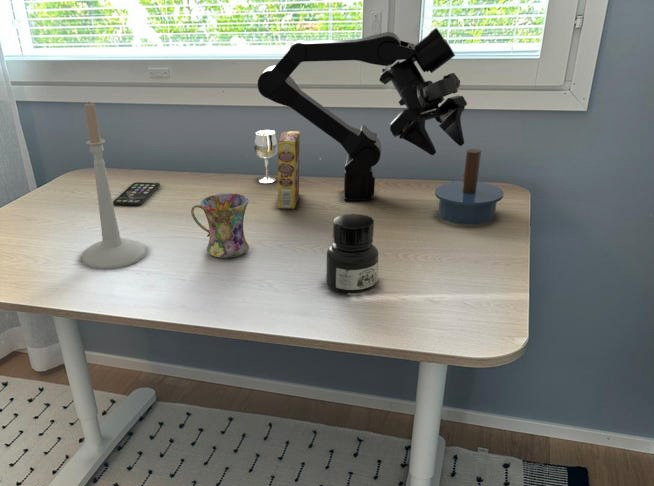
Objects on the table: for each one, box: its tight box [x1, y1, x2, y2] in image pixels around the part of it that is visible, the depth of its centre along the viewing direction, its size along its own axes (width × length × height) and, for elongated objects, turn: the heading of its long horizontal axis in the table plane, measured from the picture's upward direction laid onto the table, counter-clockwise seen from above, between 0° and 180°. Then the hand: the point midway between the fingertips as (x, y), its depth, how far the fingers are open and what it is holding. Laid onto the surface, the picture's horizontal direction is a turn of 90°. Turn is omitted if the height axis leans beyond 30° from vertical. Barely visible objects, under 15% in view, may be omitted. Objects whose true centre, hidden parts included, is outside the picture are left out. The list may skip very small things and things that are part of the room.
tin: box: [437, 199, 498, 226], centre depth 145 cm, size 11×12×5 cm
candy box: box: [277, 130, 301, 210], centre depth 156 cm, size 9×4×15 cm, turn 169°
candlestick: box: [81, 101, 146, 270], centre depth 131 cm, size 13×13×30 cm
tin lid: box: [434, 148, 505, 206], centre depth 141 cm, size 14×14×10 cm
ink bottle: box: [325, 213, 379, 295], centre depth 119 cm, size 10×9×12 cm
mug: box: [190, 192, 250, 259], centre depth 135 cm, size 12×9×11 cm
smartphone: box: [112, 181, 161, 206], centre depth 170 cm, size 7×1×15 cm
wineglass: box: [253, 129, 278, 184], centre depth 172 cm, size 6×6×12 cm
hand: (448, 149), depth 143 cm, fingers open, 9 cm apart
